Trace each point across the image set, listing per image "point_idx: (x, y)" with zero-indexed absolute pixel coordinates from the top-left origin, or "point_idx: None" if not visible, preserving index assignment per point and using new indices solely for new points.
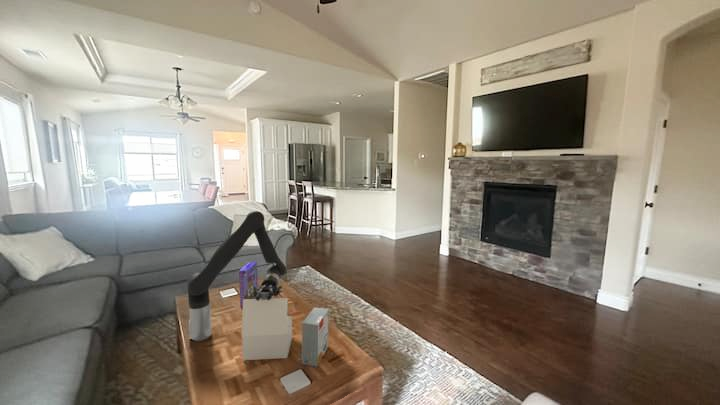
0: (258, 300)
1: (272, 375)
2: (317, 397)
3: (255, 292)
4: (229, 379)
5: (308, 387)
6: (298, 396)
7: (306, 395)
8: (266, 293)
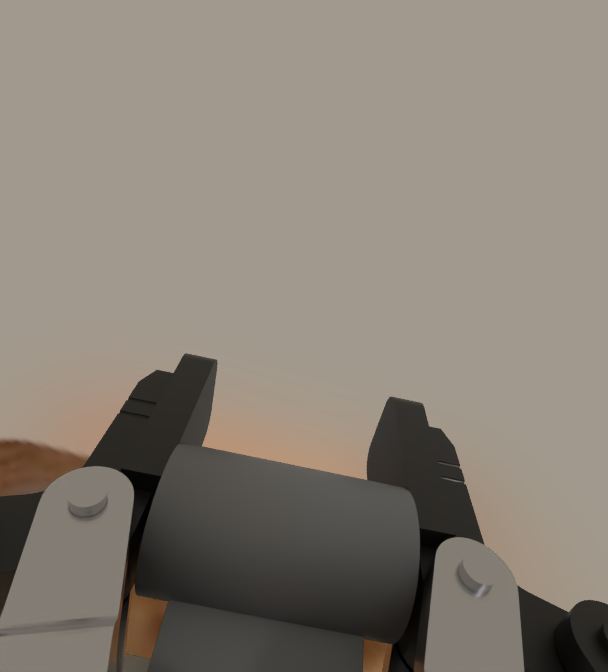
0: (368, 456)
1: (161, 616)
2: (10, 439)
3: (571, 612)
4: (385, 646)
5: (15, 490)
6: (79, 463)
7: (46, 458)
8: (239, 454)
